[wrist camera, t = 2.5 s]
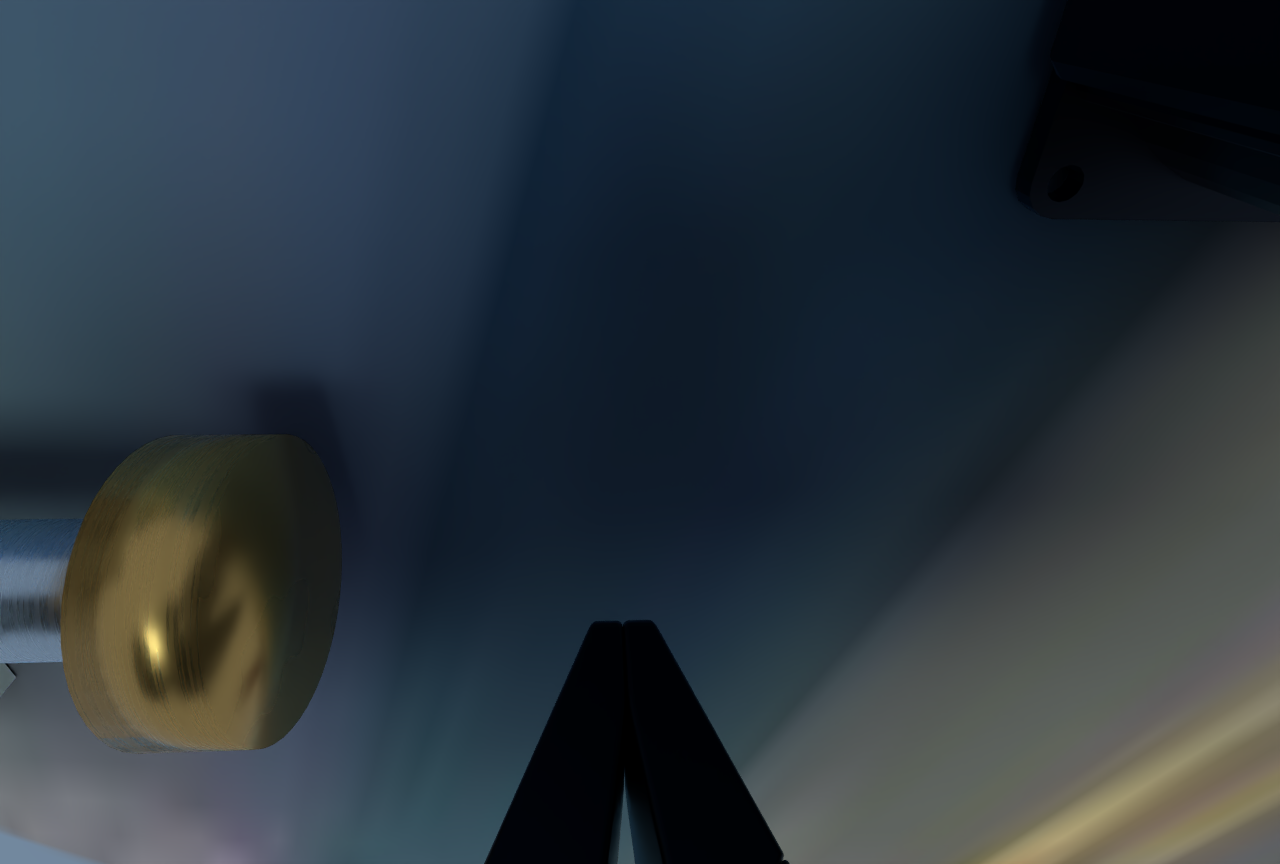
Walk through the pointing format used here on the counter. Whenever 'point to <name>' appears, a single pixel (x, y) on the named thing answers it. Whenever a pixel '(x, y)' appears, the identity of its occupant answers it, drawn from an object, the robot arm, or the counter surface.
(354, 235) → the counter surface
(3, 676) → the block
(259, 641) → the pin
